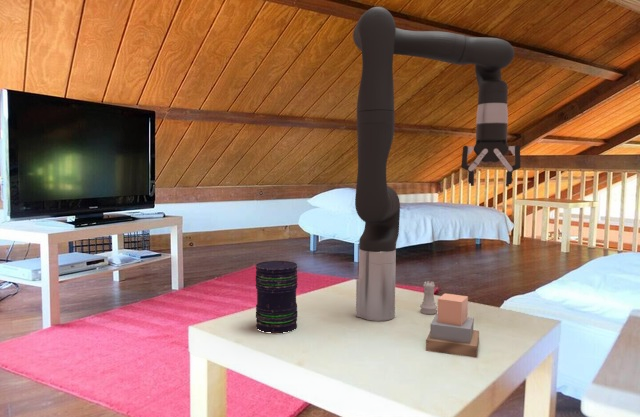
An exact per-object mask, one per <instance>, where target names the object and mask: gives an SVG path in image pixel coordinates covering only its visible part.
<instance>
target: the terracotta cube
mask: <svg viewBox="0 0 640 417" xmlns="http://www.w3.org/2000/svg"><path fill="white" fill-rule="evenodd" d="M468 301H469V296H467V295H458V294H452V293H443V294H442V295H441V296H439V297H438V298H437V314H438V319H437V322H441V323H447V324H453V325H459V326H462V325H463V324H464V322H465V321H466V320H467V317H469V316H468V314H469V313H468V310H469V308H468V307H469V306H468V305H469V302H468Z"/></svg>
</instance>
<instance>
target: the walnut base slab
mask: <svg viewBox="0 0 640 417" xmlns="http://www.w3.org/2000/svg"><path fill="white" fill-rule="evenodd" d="M479 343H480V330H478V329H473V335H472V338H471V342H470V344H469V343H462V342H454V341H447V340H440V339H433V338H430V332H429V333H428V335H427V338H426V339H425V351H428V352H432V353H433V352H434V353H440V354H449V355H456V356H464V357H470V358H471V357H472V358H477V357H478V356H477V355H478V352H479V345H480V344H479Z"/></svg>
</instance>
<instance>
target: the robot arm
mask: <svg viewBox="0 0 640 417" xmlns="http://www.w3.org/2000/svg"><path fill="white" fill-rule="evenodd" d="M352 33H353V34H352V38H353V43H354V45H355V46H356V47H357V50H360V51H361V60H362V65H361V66H362V68H361V77H360V82H359V88H358V94H357V102H356V134H357V135H356V136H357V140H356V141H357V142H356V144H357V173H356V174H357V175H356V176H357V177H356V185H355V187H356V188H355V196H354V197H355V198H354V200H355V201H354V205H355V207H354V208H355V211H356V213H357V215H358V217H359V218H360V219H361V221H363V222H364V223H365V224H364V229H363V233H362V235H361V236H360V237H359V240H358V241H359V244H358V254H359V255H358V278H357V279H356V280H355V281H356V283H355V284H356V285H355V286H356V288H355V289H356V290H355V291H356V293H355V295H356V296H355V297H356V298H355V300H356V302H355V303H356V304H355V305H356V306H355V316H356V318H357V317H359V318H361V319H364V320H368V321H377V322H378V321H379V322H382V321H383V322H384V321H389V320H392V319H394V318H395V316H396V267H397V265H396V264H397V263H396V262H397V260H396V255H397V241H398V238H399V235H400V234H399V233H400V219H401V206H400V205H401V202H400V197H399V195H398V193H397V192H396V190H395V189H393V188H392V187H391V186H388V184H387V183H388V182H387V181H388V179H387V164H388V158H389V155H390V153H391V152H390V151H391V147H392V144H393V141H394V140H393V139H394V135H395V127H396V126H395V92H394V90H395V87H394V75H393V74H394V73H393V72H394V71H393V64H394V63H393V62H394V55H397V56H400V55H401V56H407V57H409V56H410V57H415V58H416V57H417V58H422V59H428V60H434V61H438V62H443V63H447V64H454V65H458V66H466V65H474V71H475V76H476V81H477V86H478V96H477V99H478V100H477V111H476V119H475V120H476V122H475V123H476V128H475V129H476V130H475V143H474V145H473V146H468V145H464V146H463V147H462V152H461V153H462V155H461V156H462V157H461V166H460V167H461V169H463V170H466V171H467V173H468V174H467V175H468V176H467V178H468V179H467V181H468V182H467V183H468V184H470V186H471V187H474V186H475V169H476V168H477V166H478V165H479V164H480V163H481V162H482V163H499V162H501V164H502V165H503V166H504V168H505V169H506V174H505V175H506V176H505V187H506V188H507V187H510V185H512V183H513V172H514V171H515V170H520V168H521V147H520V145H519V144H518V145H517V144H516V145H512V146H511V145H508V124H509V123H508V122H509V110H508V96H509V94H508V93H509V92H508V83H507V82H506V81H505V80H502V79H503V78H502V71H501V70H503V69H505V68H507V67H508V66H509V65H510V64H511V63H512V62H513V60H514V57H515V49H514V47H513V45H512V44H511V43H510V42H509V41H507V40H505V39H502V38H497V37H485V36H484V37H479V36H468V35H466V34H465V35H464V34H461V33H459V34H458V33H455V32H449V31H439V30H406V29H403V28H399V27H396V22H395V18H394V17H393V15H392V13H391V12H390V11H389V10H388V9H386V8H385V7H382V6H374V7H371V8H369V9H367V10H366V11H365V12H364V13H363V14H361V16H360V18H359V19H358V21H357V22H356V24H355V26H354V29H353V32H352ZM472 152H474V153H475V155H476V156H477V157H476V158H475V160H474V161H473V162H472V163H471V164H470V165H469V164H468V157H469V155H471V154H472ZM508 152H511V154H512V155H514V164H513V165H511V164H510V163H509V162H508V161H507V159H506V157H505V155H506V154H507V153H508Z"/></svg>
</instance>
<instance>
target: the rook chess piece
mask: <svg viewBox="0 0 640 417" xmlns="http://www.w3.org/2000/svg"><path fill="white" fill-rule="evenodd" d="M422 287H423V289H424V290H423V301H422V302H421V304H420V309H419V311H420V313H421V314H424V315H436V314H437V313H438V305H436V302H435V294H434V293H435V290H434V289H435V288H436V285H435V281H429V280H427V281H424V282H423V285H422Z"/></svg>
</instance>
